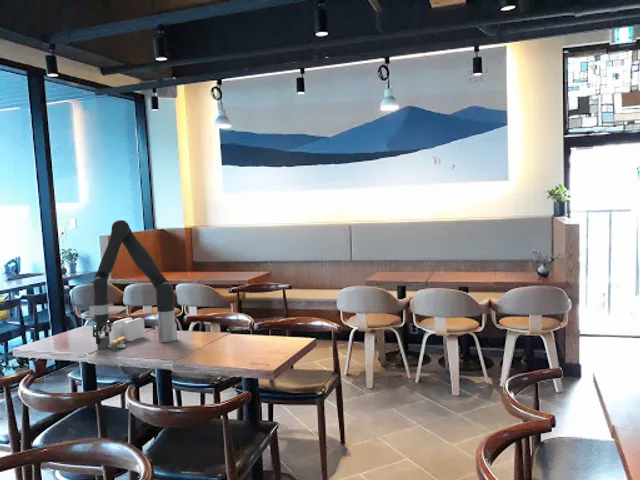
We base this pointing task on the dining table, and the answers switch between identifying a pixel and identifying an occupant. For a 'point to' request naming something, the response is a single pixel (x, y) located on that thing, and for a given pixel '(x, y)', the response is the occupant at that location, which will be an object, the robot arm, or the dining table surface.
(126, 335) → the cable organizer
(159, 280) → the robot arm
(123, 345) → the lead
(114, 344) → the tie bracket
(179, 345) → the dining table surface
